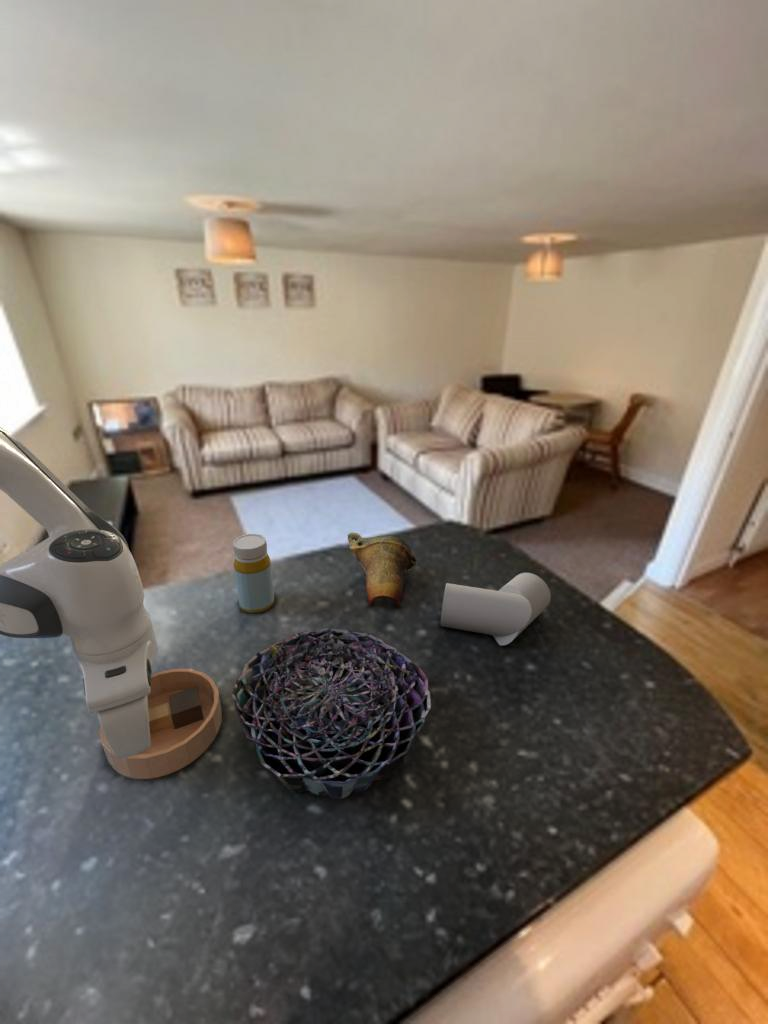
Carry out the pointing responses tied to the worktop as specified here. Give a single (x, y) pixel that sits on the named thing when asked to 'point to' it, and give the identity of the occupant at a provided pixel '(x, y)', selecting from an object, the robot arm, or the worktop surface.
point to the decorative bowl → (331, 709)
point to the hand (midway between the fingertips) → (140, 722)
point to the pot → (383, 563)
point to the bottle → (253, 573)
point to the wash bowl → (173, 744)
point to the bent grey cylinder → (496, 607)
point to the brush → (176, 711)
